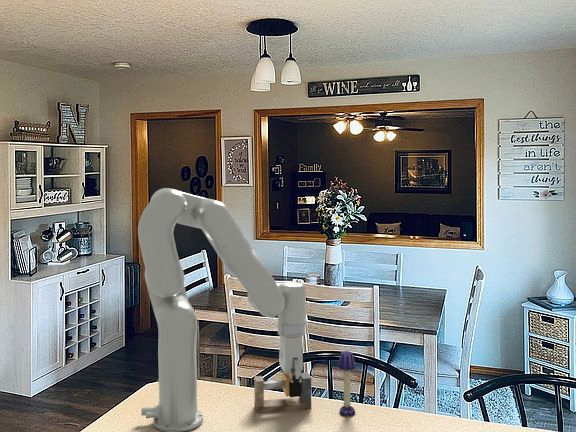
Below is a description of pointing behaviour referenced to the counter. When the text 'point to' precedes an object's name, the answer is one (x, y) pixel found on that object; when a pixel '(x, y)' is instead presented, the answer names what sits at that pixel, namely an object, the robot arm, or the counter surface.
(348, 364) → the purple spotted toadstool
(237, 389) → the counter surface
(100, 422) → the counter surface
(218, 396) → the counter surface
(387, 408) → the counter surface
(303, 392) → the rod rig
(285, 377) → the sleeve
